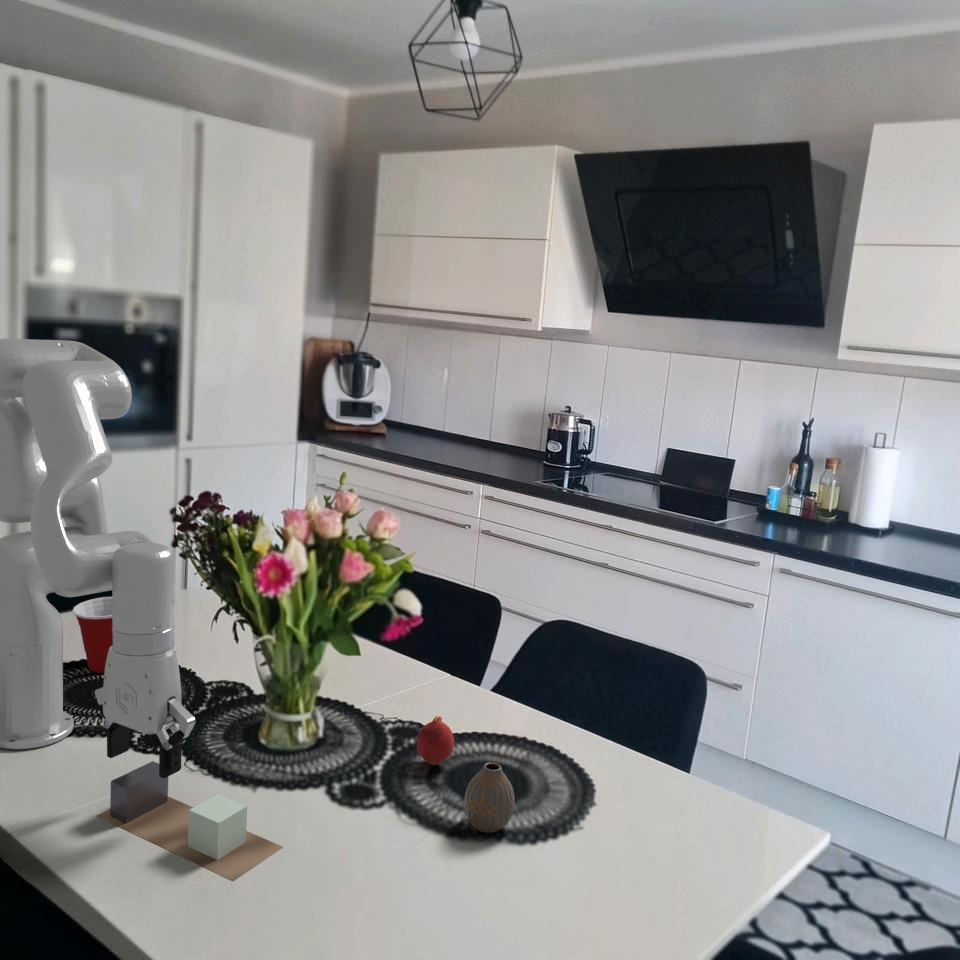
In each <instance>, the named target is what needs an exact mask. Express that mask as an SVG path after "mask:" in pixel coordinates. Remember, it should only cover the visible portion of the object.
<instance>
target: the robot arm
mask: <svg viewBox="0 0 960 960" xmlns="http://www.w3.org/2000/svg"><path fill="white" fill-rule="evenodd" d="M132 397H133V396H132V387H131V383H130V381H129V378H128V376H127V375H126V373H125V372H124V369H122V368H121V366H120V365H119V364H118V363H116V362H115V361H114V360H113V359H111V358H109V357H108V356H106V355H105V354H103V353H101V352H99V351H98V350H96V349H94V348H93V347H91V346H89V345H87V344H85V343H83V342H79V341H76V340H75V341H74V340H63V339H62V340H61V339H30V338H29V339H28V338H0V522H2V523H5V524H23V523H24V524H25V523H30V530H28V531H20V532H15V533H12V534H11V533H10V534H8V535H5V536H2V537H0V749H6V750H29V749H37V748H41V747H45V746H48V745H52V744H54V743H57V742H59V741H61V740H63V739H64V738H66V737H67V736H69V735H70V734H71V732H72V731H73V730H74V719H73V716H72V715H71V714H70V713H68V712H66V711H64V710H63V708H64V707H63V706H64V703H63V702H64V700H63V699H64V695H63V693H64V690H63V689H64V687H63V686H64V680H63V679H64V625H63V624H64V622H63V617H62V616H61V613H60V612H59V611H58V610H57V609H56V607H55V606H53V604H51V603H50V602H49V600H48V599H47V595H49V594H52V593H55V594H56V595H58V596H60V597H65V598H74V597H75V598H76V597H80V596H87V595H92V594H98V593H103V592H108V591H112V596H111V597H112V600H113V627H112V631H113V645H112V646H111V647H110V648H109V651H108V655H107V660H106V666H105V673H103V674H104V676H103V687H100V688H97V689H95V691H94V695H95V697H96V700H97V703H98V705H99V706H98V711H99V713H100V714H101V716H102V718H103V722H102V724H103V727H104V728H105V729H106V757H107V758H109V759H113V758H115V757H118V756H120V755H122V754H124V753H127V752H128V751H129V750H130V729H131V730H133V731H136V732H140V733H143V734H146V735H154V734H156V735H157V738H158V739H159V742H160V743H161V745H162V747H160V748H159V751H158V754H159V755H158V760H159V762H158V763H159V775H160V777H161V778H166V777H168V778H169V777H170V776H173V775H174V774H176V773H178V772H180V771H181V770H182V744H184V743H185V742H186V740H187V739H188V738H189V737H190V736H191V735H192V731H193V729H194V727H195V725H196V718H195V716H193V714H192V713H190V711H188V709H186V707H185V706H183V704H182V685H181V674H180V668H179V667H180V666H179V661H178V657H177V655H178V654H177V651H175V581H176V580H175V579H176V578H175V577H176V576H175V575H176V574H175V563H176V562H175V561H176V560H175V555H174V552H173V549H172V548H170V547H169V546H167V545H165V544H162V543H156V542H154V541H153V540H152V539H151V538H150V537H149V536H147V535H146V534H145V533H143V532H141V531H137V530H125V531H117V532H111V533H109V532H108V527H107V519H106V511H105V505H104V503H105V502H104V497H103V491H102V485H101V481H100V478H99V477H100V476H101V475H103V474H104V472H106V471H107V470H108V469H109V468H110V467H111V465H112V462H113V455H112V454H113V453H112V451H111V448H110V445H109V442H108V439H107V437H106V436H107V435H106V433H105V431H104V427H103V425H102V421H101V420H115V419H119V418H122V417H124V416H125V415H126V414H127V413H128V411H129V410H130V408H131V406H132V405H131V404H132V399H133V398H132ZM16 398H23V402H24V404H25V405H24V404H22V402H20V401H18V399H16ZM63 522H64V523H63ZM64 524H65V526H64ZM169 729H170V731H171V733H172V735H171V736H169V734H168V732H167V730H169Z"/></svg>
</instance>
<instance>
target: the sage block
mask: <svg viewBox="0 0 960 960" xmlns="http://www.w3.org/2000/svg"><path fill="white" fill-rule="evenodd" d="M247 818H248V805H246V804H243V803H241V802H238V801H236V800H234V799H231V798H229V797H226V796H224V795H222V794H219V793H217V794H214V796H211V797H209V798H207V799H206V800H204V801H202V802H201V803H199V804H197V805H195V806H194V808H192V809H190V810H189V829H188V847H190V848H192V849H195V850H197V851H199V852H201V853H203V854H205V855H207V856H210V857H212V858H214V859H216V860H219V859H220V858H222V857H223V856H225V855H226V854H228V853H229V852H231V851H233V850H234V849H236V848H237V847H239V846H240V845H242V844H243V843H245V842H246V831H247V825H248V824H247V821H248V819H247Z"/></svg>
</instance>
